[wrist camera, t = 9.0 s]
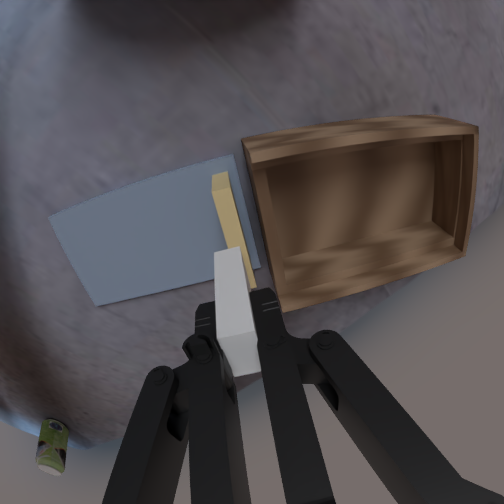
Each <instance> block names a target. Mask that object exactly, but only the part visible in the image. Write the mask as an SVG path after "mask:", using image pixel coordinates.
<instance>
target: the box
mask: <svg viewBox="0 0 504 504" xmlns="http://www.w3.org/2000/svg"><path fill="white" fill-rule="evenodd" d="M478 140H479V130H478V126H475V125H472V124H468V123H465V122H461V121H457V120H454V119H450V118H446V117H442V116H438V115H409V116H391V117H378V118H367V119H357V120H348V121H339V122H332V123H324V124H317V125H311V126H304V127H298V128H292V129H287V130H281V131H276V132H271V133H266V134H261V135H256V136H251V137H247V138H242V139H241V141H242V145H243V150H244V154H245V159H246V163H247V168H248V172H249V177H250V181H251V186H252V190H253V195H254V199H255V204H256V208H257V213H258V218H259V222H260V227H261V231H262V236H263V241H264V246H265V250H266V255H267V260H268V264H269V269H270V273H271V276H272V279H273V282H274V286H275V289H276V292H277V296H278V299H279V302H280V306H281V309H282V312H283V313H285V312H289V311H292V310H296V309H300V308H304V307H308V306H312V305H315V304H319V303H323V302H326V301H330V300H333V299H337V298H340V297H344V296H347V295H351V294H354V293H358V292H361V291H364V290H367V289H371V288H374V287H377V286H380V285H384V284H387V283H390V282H393V281H396V280H399V279H402V278H405V277H408V276H411V275H414V274H417V273H420V272H423V271H426V270H428V269H431V268H434V267H437V266H440V265H442V264H445V263H448V262H451V261H453V260H456V259H459V258H461V257H464V256H465V255H466V250H467V246H468V240H469V235H470V229H471V223H472V217H473V209H474V202H475V193H476V182H477V168H478Z"/></svg>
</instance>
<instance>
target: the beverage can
mask: <svg viewBox="0 0 504 504" xmlns="http://www.w3.org/2000/svg"><path fill="white" fill-rule="evenodd" d="M68 435H69V431H68V429H67V428H66V427H65V426H64V425H63V424H62V423H61V422H59V421H56V420H53V419H48V420H44V421H43V422H42V426H41V431H40V436H39V441H38V447H37V453H36V462H37V464H38V468H39V469H41V470H42V471H44V472H45V473H48V474H51V475H55V476H61V473H63V472H64V470H65V460H66V450H67V443H68Z"/></svg>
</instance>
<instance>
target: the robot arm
mask: <svg viewBox="0 0 504 504" xmlns="http://www.w3.org/2000/svg"><path fill="white" fill-rule="evenodd" d="M214 276H215V301H212V302H208V303H203V304H200V305H199V307H198V308H197V310H196V312H195V334H193V335H191V336H190V337H188V338H187V339H186V340H185V342H184V343H183V346H182V348H183V350H184V352H185V354H186V355H187V357H188V359H189V361H188V362H186V363H185V364H183V365H181V366H179V367H177V368H175V369H173V370H172V369H171V368H170V367H167V366H158V367H156V368H154V369H152V370H151V371H150V372H149V373H148V375H147V377H146V379H145V382H144V384H143V387H142V389H141V392H140V395H139V397H138V400H137V403H136V405H135V408H134V411H133V413H132V416H131V419H130V421H129V424H128V427H127V430H126V432H125V435H124V438H123V441H122V444H121V447H120V449H119V453H118V455H117V458H116V461H115V464H114V467H113V470H112V473H111V476H110V479H109V483H108V486H107V489H106V492H105V495H104V498H103V502H102V504H173V501H174V497H175V493H176V489H177V485H178V481H179V476H180V472H181V468H182V464H183V459H184V456H185V452H186V448H187V444H188V440H189V463H190V465H189V466H190V488H191V504H251V498H250V492H249V485H248V478H247V471H246V464H245V457H244V449H243V441H242V434H241V426H240V418H239V410H238V401H237V393H236V386H235V383H234V381H233V376H232V373H233V375H234V377H237V376H242V375H246V374H251V373H256V372H260V371H261V372H262V377H263V382H264V388H265V393H266V399H267V404H268V409H269V415H270V420H271V426H272V431H273V436H274V441H275V447H276V452H277V457H278V462H279V468H280V473H281V478H282V483H283V488H284V493H285V498H286V503H287V504H336V502H335V499H334V496H333V492H332V489H331V485H330V481H329V477H328V474H327V470H326V467H325V463H324V459H323V456H322V452H321V448H320V445H319V442H318V438H317V434H316V430H315V427H314V424H313V420H312V416H311V413H310V409H309V406H308V402H307V399H306V395H305V392H304V388H303V385H302V384H314V385H315V386H316V388H317V389H318V391H319V392H320V394H321V395H322V396H323V398H324V400H325V401H326V402H327V404H328V405H329V407H330V408H331V410H332V411H333V413H334V414H335V416H336V417H337V418H338V420H339V421H340V423H341V424H342V425H343V427H344V428H345V430H346V431H347V433H348V434H349V436H350V437H351V438H352V440H353V441H354V443H355V444H356V446H357V447H358V449H359V450H360V451H361V453H362V454H363V456H364V457H365V458H366V460H367V461H368V463H369V464H370V466H371V467H372V468H373V470H374V471H375V472H376V474H377V475H378V477H379V478H380V479H381V481H382V482H383V483H384V485H385V486H386V488H387V489H388V491H389V492H390V493H391V495H392V496H393V497H394V499H395V500H396V501H397V503H398V504H504V497H503V496H502V495H500V494H497V493H495V492H493V491H490V490H488V489H485V488H483V487H481V486H478V485H476V484H474V483H472V482H470V481H467V480H465V479H463V478H462V477H461V476H460V475H459V474H458V473H457V471H456V470H455V469H454V468H453V467H452V465H451V464H450V463H449V462H448V461H447V460H446V458H445V457H444V456H443V455H442V454H441V452H440V451H439V450H438V449H437V447H436V446H435V445H434V444H433V443H432V442H431V440H430V439H429V438H428V437H427V436H426V434H425V433H424V432H423V431H422V430H421V429H420V427H419V426H418V425H417V424H416V423H415V421H414V420H413V419H412V418H411V417H410V415H409V414H408V413H407V412H406V411H405V410H404V409H403V407H402V406H401V405H400V404H399V403H398V401H397V400H396V399H395V398H394V397H393V396H392V394H391V393H390V392H389V391H388V390H387V389H386V387H385V386H384V385H383V384H382V383H381V382H380V380H379V379H378V378H377V377H376V376H375V375H374V374H373V372H371V370H370V369H369V368H368V367H367V365H366V364H365V363H364V362H363V361H362V360H361V359H360V357H359V356H358V355H357V354H356V353H355V352H354V351H353V350H352V348H351V347H350V346H349V345H348V344H347V342H346V341H345V340H344V339H343V338H342V337H341V336H340V335H339V334H338V333H337V332H335V331H332V330H322V331H319V332H317V333H315V334H314V335H313V336H312V337H311V339H301V338H296V337H293V336H291V335H290V334H289V333H288V332H287V331H286V329H285V326H284V322H283V319H282V315H281V312H280V309H279V305H278V302H277V299H276V295H275V293H274V292H273V291H272V290H271V289H270V288H264V289H260V290H256V291H252V292H251V287H250V282H249V279H248V275H247V271H246V268H245V264H244V260H243V256H242V253H241V249H240V246H238V247H234V248H230V249H226V250H222V251H218V252H214Z"/></svg>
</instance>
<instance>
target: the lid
mask: <svg viewBox="0 0 504 504" xmlns="http://www.w3.org/2000/svg"><path fill="white" fill-rule="evenodd" d="M49 221H50V223H51V225H52V227H53V229H54V231H55V233H56V235H57V237H58V239H59V241H60V243H61V245H62V247H63V249H64V251H65V253H66V255H67V257H68V259H69V261H70V263H71V264H72V266H73V268H74V270H75V272H76V274H77V275H78V277H79V279H80V281H81V282H82V284H83V286H84V287H85V289H86V291H87V292H88V294H89V296H90V297H91V299H92V301H93V302H94V304H95V305H96V306H100V305H104V304H109V303H113V302H118V301H122V300H127V299H131V298H136V297H140V296H144V295H149V294H153V293H157V292H162V291H166V290H170V289H174V288H179V287H183V286H187V285H191V284H195V283H200V282H204V281H208V280H212V279H215V276H214V252H218V251H222V250H226V249H230V248H234V247H238V246H240V249H241V253H242V256H243V260H244V264H245V268H246V271H247V275H248V279H249V282H250V287H251V288H255V287H256V282H255V278H254V273H253V269H257V268H261V266H260V262H259V258H258V254H257V250H256V245H255V241H254V237H253V233H252V229H251V225H250V221H249V217H248V213H247V209H246V205H245V200H244V196H243V192H242V188H241V184H240V180H239V176H238V172H237V168H236V164H235V160H234V156H233V154H231V155H227V156H223V157H219V158H215V159H211V160H208V161H204V162H200V163H197V164H193V165H190V166H186V167H183V168H179V169H176V170H173V171H169V172H166V173H163V174H160V175H157V176H154V177H151V178H148V179H144V180H141V181H139V182H136V183H133V184H130V185H127V186H124V187H121V188H119V189H116V190H113V191H110V192H108V193H105V194H102V195H100V196H97V197H94V198H92V199H89V200H87V201H84V202H82V203H79V204H77V205H74V206H72V207H70V208H67V209H65V210H63V211H60V212H58V213H56V214H53V215H51V216H50V217H49Z"/></svg>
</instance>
